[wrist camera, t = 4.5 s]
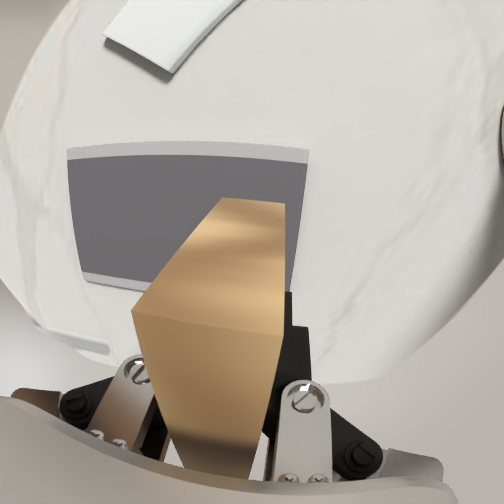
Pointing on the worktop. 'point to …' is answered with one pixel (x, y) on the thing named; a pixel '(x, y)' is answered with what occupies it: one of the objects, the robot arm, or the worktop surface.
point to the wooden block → (217, 334)
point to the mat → (170, 200)
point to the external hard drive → (166, 27)
